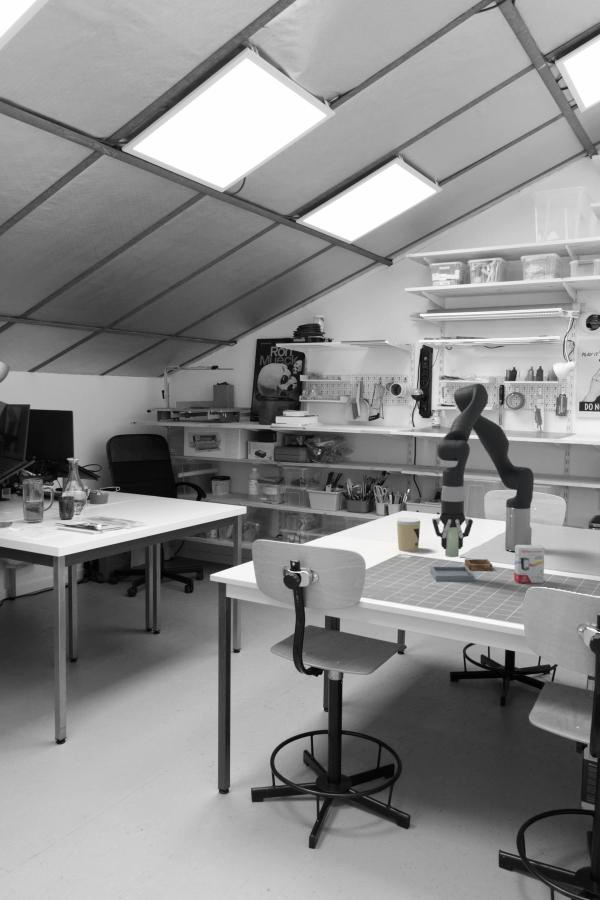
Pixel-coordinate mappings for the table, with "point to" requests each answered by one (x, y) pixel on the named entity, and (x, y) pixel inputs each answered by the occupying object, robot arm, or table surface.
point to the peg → (452, 542)
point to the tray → (451, 573)
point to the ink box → (529, 564)
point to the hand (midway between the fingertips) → (451, 548)
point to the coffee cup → (408, 534)
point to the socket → (478, 564)
